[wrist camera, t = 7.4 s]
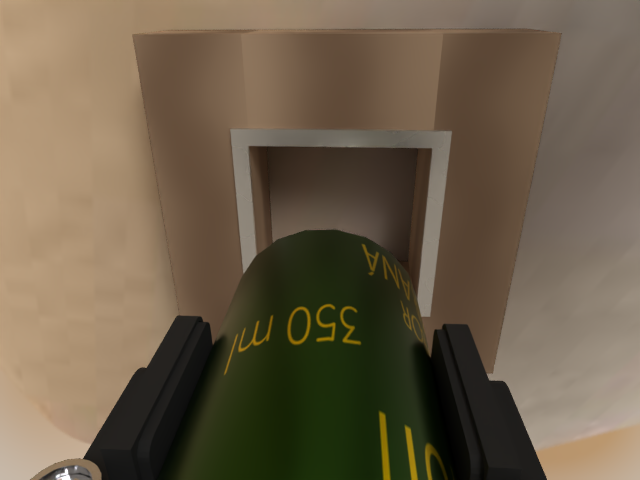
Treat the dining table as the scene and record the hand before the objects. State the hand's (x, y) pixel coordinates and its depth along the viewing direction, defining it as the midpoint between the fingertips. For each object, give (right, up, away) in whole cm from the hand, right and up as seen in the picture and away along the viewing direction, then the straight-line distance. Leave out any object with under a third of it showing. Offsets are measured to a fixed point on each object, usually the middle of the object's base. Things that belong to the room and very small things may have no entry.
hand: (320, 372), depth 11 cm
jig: (+1, +5, +10) cm, 11 cm away
